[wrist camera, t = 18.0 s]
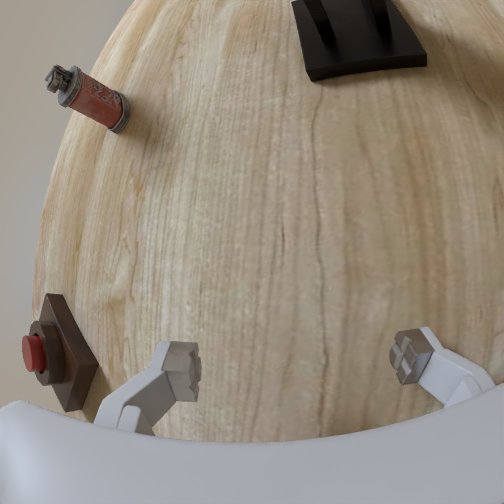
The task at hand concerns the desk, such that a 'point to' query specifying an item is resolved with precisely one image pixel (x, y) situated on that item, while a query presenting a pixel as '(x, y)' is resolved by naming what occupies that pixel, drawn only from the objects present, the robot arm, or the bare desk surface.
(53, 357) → the button box
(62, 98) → the lighter
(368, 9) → the switch bracket
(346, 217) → the desk surface
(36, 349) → the light button
